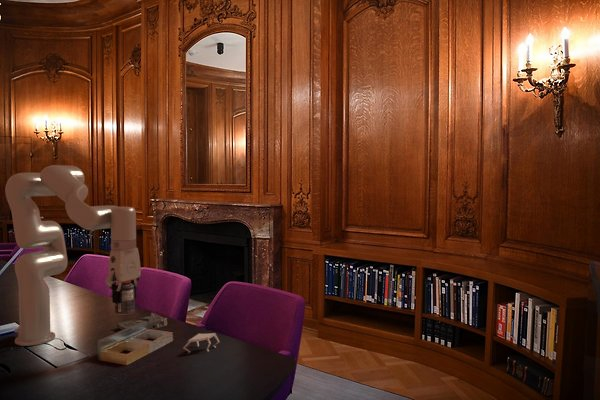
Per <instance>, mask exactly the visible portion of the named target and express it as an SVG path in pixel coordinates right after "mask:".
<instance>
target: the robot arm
mask: <svg viewBox="0 0 600 400" xmlns="http://www.w3.org/2000/svg"><path fill="white" fill-rule="evenodd" d="M4 190H5V191H4V192H5V198H6V201H7V203H8V205H9V209H10V211H11V212H10V213H11V218H12V224H13V230H14V236H15V242H16V244H17V246H18V247H19V248H21V249H22V250H23V249H24V250H30V249H39V248H40V249H41V248H44V250H39V251H33V252H32V251H31V252H27V253H24V254H22V255H20V256H19V257H18V258H17V259H16V260H15V263H14V271H15V275H16V278H17V279H16V280H17V284H18V285H17V286H18V309H19V310H18V315H19V325H18V326H17V328H15V329H14V330H13V331H14V333H16V334H18V336H16V338H15V339H14V344H15V345H17V346H22V347H23V346H24V347H25V346H26V347H29V346H37V345H43V344H46V343H49V342H51V341H53V340H54V339H55V338H56V333H55V332H54V331H51V299H50V297H51V295H50V294H51V293H50V287H49V285H48V284H47V283H46V281H45V280H44V279H45V278H46V277H51V276H55V275H60V274H62V273H63V272H65V270H66V269H67V267H68V254H67V247H66V240H65V235H64V230H63V228H62V227H61V225H60V224H59V223H58V222H56V221H55V220H42V219H41V214H40V213H41V212H40V210H39V207H38V205H37V204H36V202H35V201H33V199H32V198H31V197H53V196H57V197H58V198H59V199H61V200H62V201H63V202H64V203H65V206H64V207H65V211H66V213H67V215H68V218H69V219H71V221H73V222H74V223H75V224H76V225H77V226H79V227H81V228H82V229H84V230H87V231H95V230H97V231H98V230H102V229H103V230H104V229H110V237H111V238H110V241H111V243H110V249H111V250H110V253H109V259H108V276H107V278H106V279H105V281H104V282H105V284H106V285H107V287H109V289H110V291H112V292H111V293H112V298H111V299H112V303H113V304H115V303H119V304H120V303H122V291H120V288H121V284H122V282H126V281H129V280H131V283H132V284H133V285H134V299H136V298H137V287H138V283H139V280H140V277H141V275H142V274H143V273H142V272H143V271H142V269H141V260H140V253H139V248H138V247H137V213H136V212H137V210H136V208H135V207H133V206H117V205H114V204H113V205H111V204H110V205H94V206H90V205H88V204H87V203H86V202H84V201H85V200H86V198H87V196H88V194H89V189H88V186H87V185H86V184H85V174H84V172H83V170H82V169H81V168H79V166H78V167H77V166H75V165H67V164H66V165H65V164H64V165H63V164H52V165H49V166H46V167H44V168H43V169H42V170H41V171H40V172H30V171H29V172H20V173H15V174H13V175H11V176H10V177H9V178H8V179H7V182H6V184H5V189H4ZM116 285H117V286H116Z"/></svg>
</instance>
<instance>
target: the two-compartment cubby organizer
mask: <svg viewBox="0 0 600 400" xmlns="http://www.w3.org/2000/svg"><path fill="white" fill-rule="evenodd" d="M148 339H150V340H148ZM151 339H153V340H151ZM173 341H174V333H173V332H171V331H164V330H159V329H157V330H156V329H153V328H149V329H147V321H143V322H141V323H138V324H136V325H134V326H131V327H129V328H126V329H124V330H122V329H121V330H119V331H118V332H116V333H113V334H110V335H108V336H105V337H103V338H101V339H98V340H97V360H99V361H101V362H106V363H107V362H108V363H113V364H119V365H124V366H128V365H130V364H132V363H133V362H135V361H137V360H139V359H141V358H143V357H145V356H147V355H148V354H150V353H153V352H154V351H156V350H158V349H160V348H162V347H164V346H165V345H167V344H170V343H171V342H173ZM124 351H128V352H129V353H123V352H124Z"/></svg>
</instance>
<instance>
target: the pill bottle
mask: <svg viewBox="0 0 600 400" xmlns="http://www.w3.org/2000/svg"><path fill="white" fill-rule="evenodd" d="M116 286H117V284H116ZM120 291H122V303H120V304H119V303H114V313H115V314H117V315H120V316H121V315H128V314H133V313H134V312H135V305H136V304H135V299H136V298H134V285H133V284H132V283H131V280H129V281H126V282H122V284H121V288H120Z"/></svg>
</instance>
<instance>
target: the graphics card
mask: <svg viewBox="0 0 600 400" xmlns="http://www.w3.org/2000/svg"><path fill="white" fill-rule="evenodd" d="M143 321H147V330H148V329H152V330H155V329H159V328H162V327H165V326H167V325H168V317H163V316H162V315H159V314H156V313H154V312H151V313H150V315H148V316H145V317H142V318H141V317H140V318H136V319H132V320H127V321H122V322H118V323H116V327H117V328H119V329H120V330H121V331H122V330H124V329H126V328H129V327H131V326H134V325H136V324H138V323H141V322H143Z"/></svg>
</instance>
